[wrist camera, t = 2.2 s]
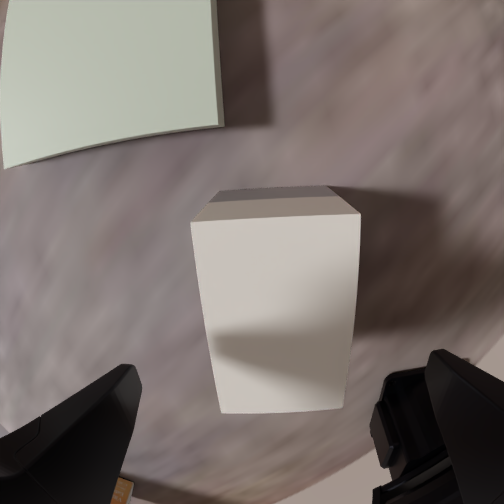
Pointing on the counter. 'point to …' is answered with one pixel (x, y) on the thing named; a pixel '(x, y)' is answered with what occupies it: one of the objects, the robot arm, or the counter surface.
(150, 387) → the counter surface
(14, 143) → the stand
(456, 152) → the counter surface
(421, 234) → the counter surface
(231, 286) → the block
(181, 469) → the counter surface
